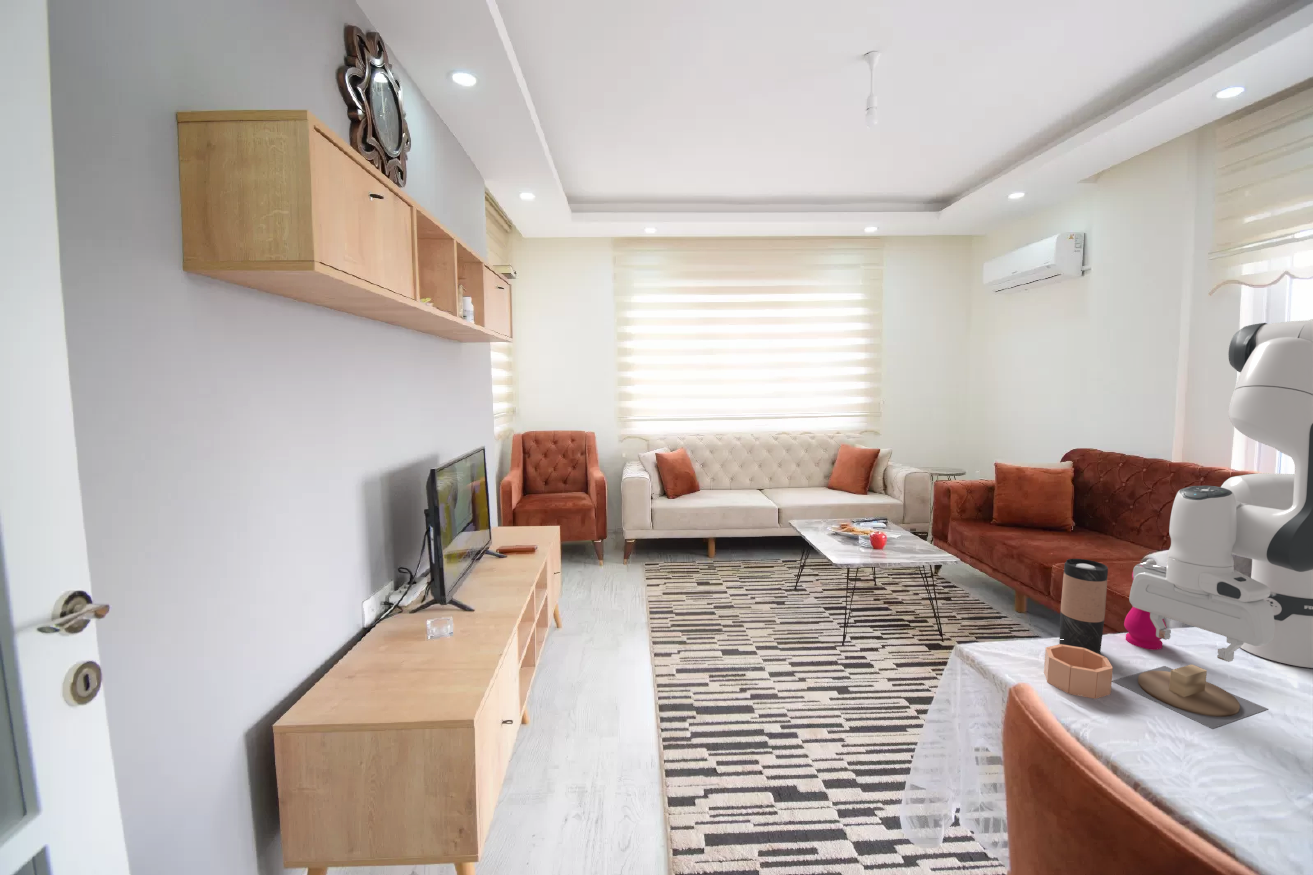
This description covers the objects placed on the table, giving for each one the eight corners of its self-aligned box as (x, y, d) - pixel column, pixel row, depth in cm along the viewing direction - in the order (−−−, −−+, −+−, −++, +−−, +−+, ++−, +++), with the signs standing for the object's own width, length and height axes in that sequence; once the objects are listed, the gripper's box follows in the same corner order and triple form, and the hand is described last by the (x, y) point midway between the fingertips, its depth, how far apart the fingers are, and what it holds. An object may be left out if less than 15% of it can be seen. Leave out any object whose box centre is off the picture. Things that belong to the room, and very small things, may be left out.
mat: (1164, 669, 118) (1164, 665, 118) (1267, 713, 103) (1268, 708, 103) (1111, 684, 113) (1111, 680, 113) (1211, 733, 98) (1212, 728, 98)
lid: (1167, 669, 117) (1169, 646, 116) (1257, 707, 103) (1260, 682, 103) (1120, 682, 112) (1122, 659, 111) (1208, 724, 99) (1211, 698, 98)
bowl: (1068, 669, 119) (1070, 641, 118) (1120, 694, 109) (1123, 665, 109) (1032, 678, 115) (1034, 650, 115) (1084, 705, 106) (1086, 675, 105)
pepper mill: (1173, 655, 124) (1182, 565, 121) (1134, 652, 125) (1142, 564, 123) (1151, 639, 131) (1159, 554, 128) (1115, 637, 132) (1122, 553, 130)
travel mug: (1110, 661, 122) (1118, 570, 119) (1074, 661, 122) (1081, 570, 119) (1083, 643, 129) (1090, 558, 127) (1049, 644, 129) (1055, 558, 127)
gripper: (1124, 561, 113) (1119, 628, 115) (1261, 596, 94) (1254, 677, 95) (1144, 557, 116) (1140, 624, 117) (1283, 591, 96) (1276, 670, 98)
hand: (1192, 648), depth 106 cm, fingers open, 8 cm apart
